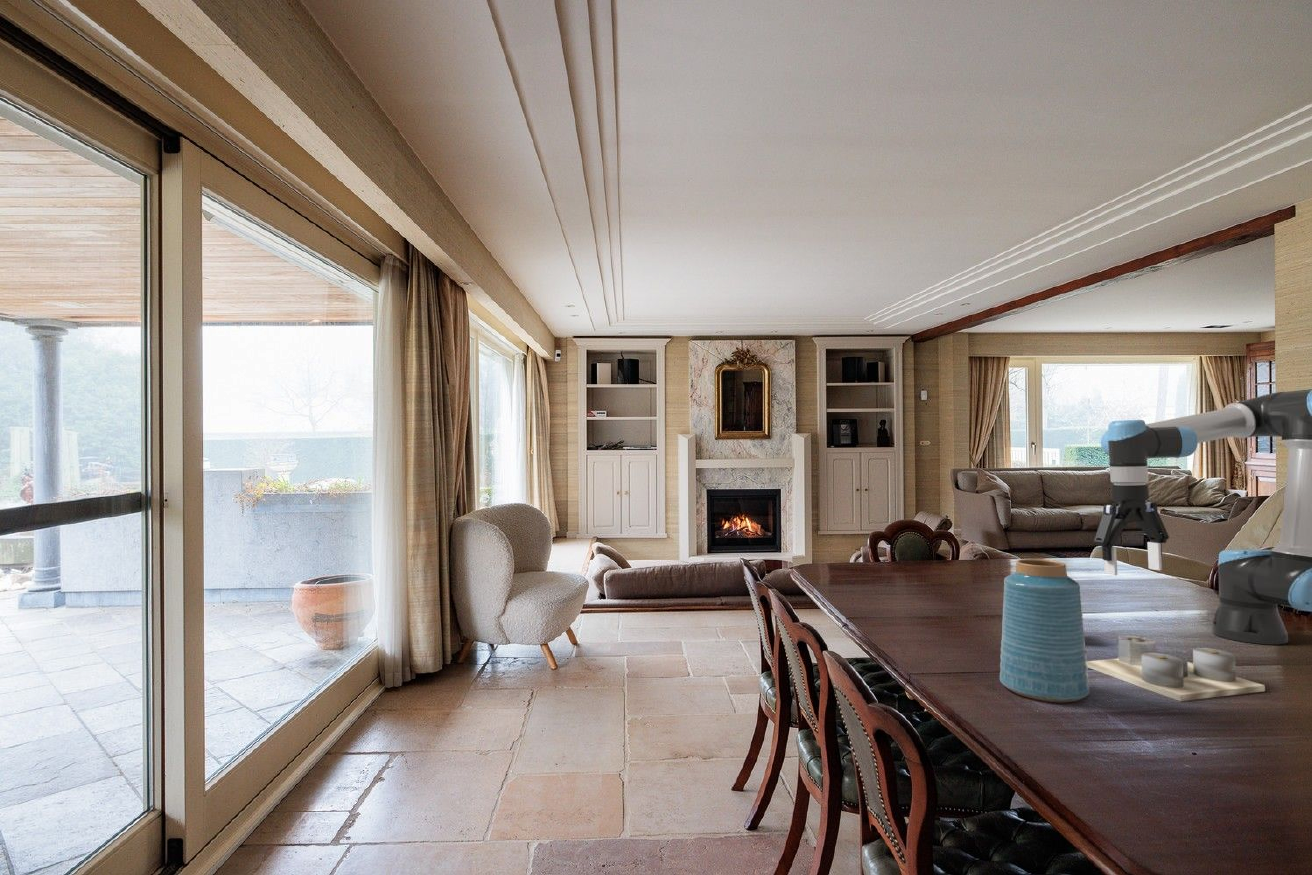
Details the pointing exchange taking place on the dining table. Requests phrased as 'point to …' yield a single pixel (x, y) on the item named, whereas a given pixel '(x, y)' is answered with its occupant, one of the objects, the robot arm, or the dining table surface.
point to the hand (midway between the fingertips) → (1133, 571)
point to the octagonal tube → (1134, 649)
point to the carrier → (1182, 674)
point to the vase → (1043, 633)
